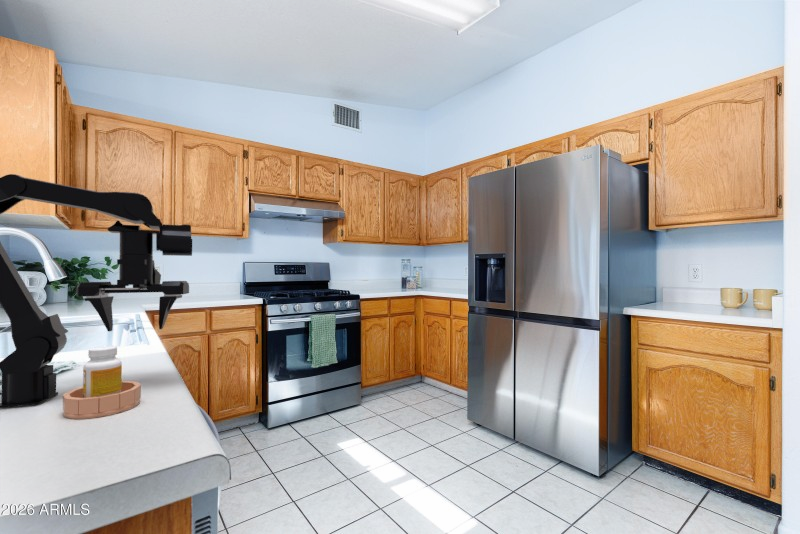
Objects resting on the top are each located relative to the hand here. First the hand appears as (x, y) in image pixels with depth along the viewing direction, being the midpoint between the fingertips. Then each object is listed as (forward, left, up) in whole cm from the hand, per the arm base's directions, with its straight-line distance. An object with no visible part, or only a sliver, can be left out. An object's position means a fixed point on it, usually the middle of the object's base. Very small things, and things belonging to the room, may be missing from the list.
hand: (136, 330), depth 80 cm
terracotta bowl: (-1, -12, -12) cm, 17 cm away
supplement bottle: (-1, -12, -11) cm, 17 cm away
